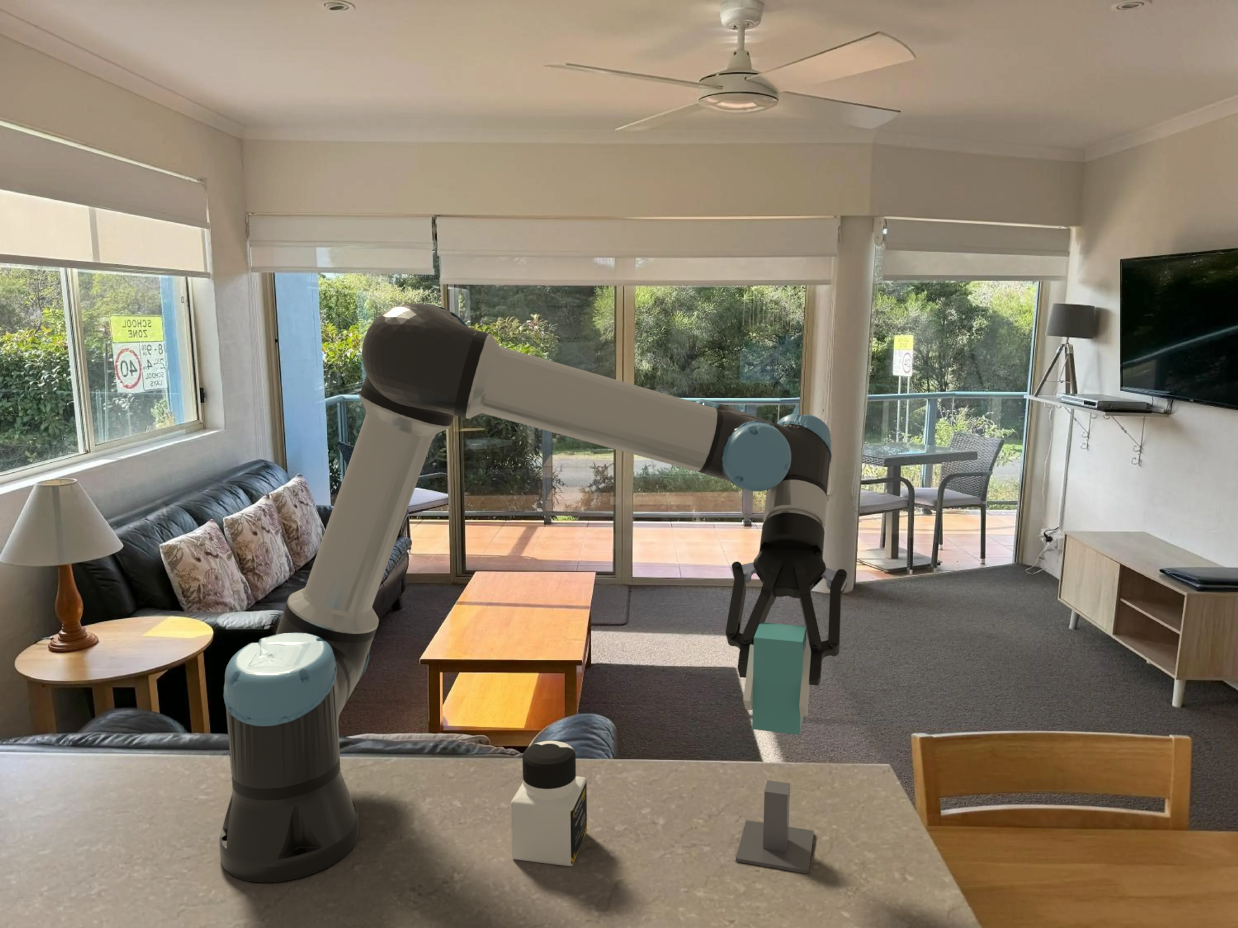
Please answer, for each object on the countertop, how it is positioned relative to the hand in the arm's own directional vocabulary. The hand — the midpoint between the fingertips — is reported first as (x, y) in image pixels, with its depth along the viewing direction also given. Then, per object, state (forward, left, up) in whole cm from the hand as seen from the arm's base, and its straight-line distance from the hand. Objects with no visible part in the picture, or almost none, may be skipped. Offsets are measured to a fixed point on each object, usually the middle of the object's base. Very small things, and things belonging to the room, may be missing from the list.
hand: (775, 707), depth 95 cm
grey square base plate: (0, +4, -19) cm, 19 cm away
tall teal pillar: (0, +4, -3) cm, 5 cm away
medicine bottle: (-25, -3, -19) cm, 31 cm away
